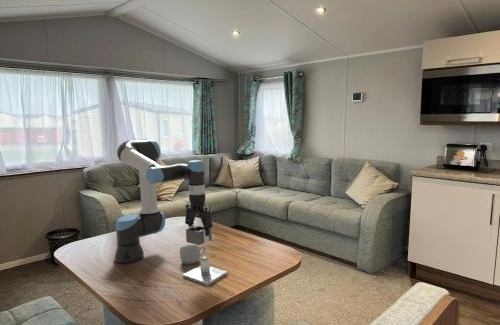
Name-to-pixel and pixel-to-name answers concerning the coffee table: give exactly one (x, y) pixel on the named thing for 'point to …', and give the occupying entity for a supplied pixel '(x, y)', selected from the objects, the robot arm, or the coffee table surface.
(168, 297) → the coffee table surface
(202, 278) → the grey plate with post
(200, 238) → the grey square hollow block
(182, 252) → the teacup
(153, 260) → the coffee table surface
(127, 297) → the coffee table surface
